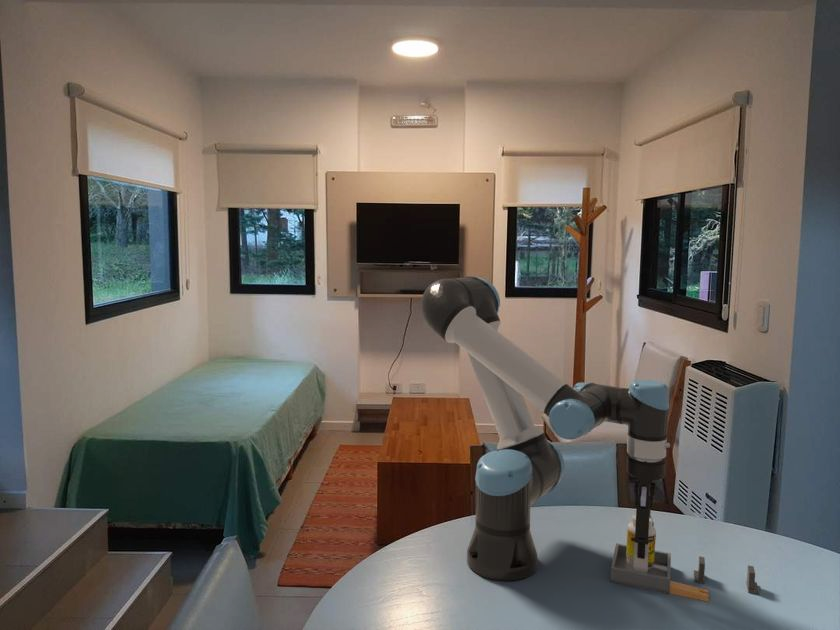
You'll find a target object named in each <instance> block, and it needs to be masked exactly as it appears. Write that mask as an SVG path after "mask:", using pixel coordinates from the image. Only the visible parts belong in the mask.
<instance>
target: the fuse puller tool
mask: <svg viewBox="0 0 840 630" xmlns="http://www.w3.org/2000/svg"><path fill="white" fill-rule="evenodd" d="M670 594H672V595H675V596H676V595H677V596H681V597H687V598H691V599H695V600H701V601H706V602H708V601H709V590H708V589H704V588H700V587H697V586H694V585H688V584H684V583H680V582H676V581H673V580H670Z"/></svg>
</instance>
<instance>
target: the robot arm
mask: <svg viewBox="0 0 840 630" xmlns="http://www.w3.org/2000/svg"><path fill="white" fill-rule="evenodd" d="M500 300H501V299H500V295H499V292H498V290H497V289H496V287H495V286H494V285H493V283H491V282H490V281H488V280H487V279H484V278H482V277H476V276H464V277H456V278H453V277H452V278H443V279H437V280H436V281H434V282H432V283H431V284H430V285H428V287H427V288H426V289H425V291H424V292H423V294H422V298H421V302H420V309H421V310H420V311H421V314H422V316H423V319H424V321H425V323H427V325H428V326H429V327H430V329H432V331H434V333H435V334H437V335H438V336H439V337H440V338H442V339H443V340H444V341H445V342H447V343H448V344H456V345H458V346H459V347H460V348H461V349H462V350H464V351H465V352H466V353H467V355H468V358H469V361H470V363H471V366H472V368H473V371H474V374H475V377H476V379H477V382H478V384H479V387H480V390H481V392H482V395H483V398H484V400H485V402H486V405H487V408H488V411H489V413H490V416H491V419H492V421H493V423H494V426H495V429H496V432H497V433H498V437H499V442H498V443H497V445H496V450H492V451H489V452H487V453H485V454H484V455H482V456H481V457H480V458H479V460H478V462H477V464H476V472H475V477H474V478H475V479H474V480H475V527H474V530H473V533H472V535H471V539H470V541H469V543H468V546H467V549H466V563H467V565H468V567H469V569H471V571H473V572H474V573H476V574H477V575H479V576H481V577H483V578H487V579H489V580H494V581H502V582H503V581H504V582H509V581H511V582H513V581H519V580H522V579H526V578H528V577H530V576H531V575H533V574H534V573H535V572H536V571H537V569H538V552H537V547H536V546H535V545H536V544H535V542H534V539H533V536H532V532H531V507H532V505H533V504H534V503H536V502H537V501H538V500H540V499H541V498H542V497H544V496H545V495H546V494H549V493H550V492H552V491H553V490H554V489H555V488H556V486H557V485H558V484H559V483H560V482H561V480H562V478H563V475H564V472H565V461H564V457H563V454H562V452H561V450H560V449H559V447H558V446H557V445H556V444H554V443H552V442H551V441H550V440H548V438H547V435H546V433H545V431H544V430H543V429H541V428H538V427H537V426H536V425H535V423H534V422H533V421H534V420H533V419H532V416H531V413H530V411H529V408H528V406H527V404H526V401H528V402H530V403H531V404H532V405H533V406H534V407H536V408H537V409H538V410H540V411H541V412H542V413H543V414H545V415H546V416H547V417H548V423H549V425H550V428H551V429H552V432H554V434H555V435H557V436H558V437H559V438H561V439H564V440H575V439H576V440H577V439H579V438H581V437H585V436H586V435H587V434H589V433H591V432H592V430H594V429H595V428H597V427H598V426H600V425H602V424H603V423H605V422H606V423H612V424H618V425H626V426H627V437H626V440H627V443H626V452H627V456H626V466H625V467H626V469H625V470H626V473H627V474H628V475H629V476H630V477H632V478H636V479H635V482H634V487H633V488H634V489H633V493H634V506H635V508H636V511H635V514H636V528H635V538H633V537H632V538H631V541H635V544H634V566H633V571H638V572H643V573H647V572H648V552H649V539H648V535H649V517H651V518H652V516H651V513H652V511H651V510H652V508H653V506H654V498H655V497H654V496H655V495H656V482H653V481H660V480H662V479H664V478H665V477H666V470H667V469H666V465H667V464H666V463H667V460H666V459H665V458H666V457H667V448H670V447H671V444H670V442H667V441H668V440H667V439H668V426H669V425H668V424H669V412H670V395H669V393H670V391H669V390H670V389H669V387H668V385H666V384H667V383H664V382H662V381H658V380H653V379H635V380H632V381H631V382H630V384H629V387H628V388H626V387H618V386H613V385H606V384H600V383H599V384H598V383H595V382H577V383H575V384H574V386H573V387H572V386H570V385H569V384H567V382H565V381H564V380H563V379H561V378H560V377H558V376H557V375H556V374H555V373H553V372H552V371H551V370H549V369H548V368H547V367H546V366H545V365H543V364H541V363H540V362H539V361H537V360H536V359H535V358H533V357H532V356H531V355H529V354H528V353H527V352H526V351H524V350H523V349H522V348H520V346H518V345H516V344H515V343H514V342H513V341H511V340H510V339H509V338H508V337H505V336H504V334H502V333H501V332H500V331H498V330H499V327H500V325H501V324H502V323H501V320H500V317H499V314H498V313H499V309H500V306H501V301H500ZM525 400H526V401H525ZM652 526H653V527H654V526H655V523H654V522H653V525H652Z"/></svg>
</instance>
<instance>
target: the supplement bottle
mask: <svg viewBox="0 0 840 630" xmlns="http://www.w3.org/2000/svg"><path fill="white" fill-rule="evenodd" d="M631 518H632V519H631V522H630V523H628V524H627V532H626V533H627V534H626V545H627V549H626V562H627V563H628V564H629V565H630V566H631V567H633V566H634V544H635V541H631V538H632V537H633V538H635V528H636V513H635V514H632V517H631ZM652 525H653V517H652V516H651V517H649V535H648V539H649V552H648V569H651V568H652V567H653V565H654V554H655V551H656V538H657V536H656V535H657V530H656V527H654V526H652Z"/></svg>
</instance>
